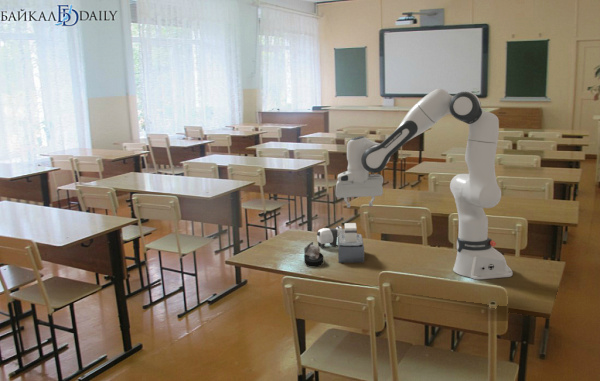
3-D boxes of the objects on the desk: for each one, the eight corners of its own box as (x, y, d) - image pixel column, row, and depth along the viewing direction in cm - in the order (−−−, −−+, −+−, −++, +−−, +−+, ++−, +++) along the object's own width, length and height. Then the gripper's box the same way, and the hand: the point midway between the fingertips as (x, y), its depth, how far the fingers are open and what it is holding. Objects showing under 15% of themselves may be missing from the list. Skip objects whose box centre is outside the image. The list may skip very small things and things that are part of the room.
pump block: (356, 238, 241) (355, 223, 240) (356, 243, 234) (356, 228, 232) (344, 238, 242) (344, 223, 240) (344, 243, 234) (344, 228, 232)
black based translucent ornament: (316, 273, 228) (297, 265, 234) (331, 260, 236) (312, 253, 242) (316, 260, 225) (297, 253, 230) (330, 247, 233) (311, 240, 239)
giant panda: (319, 249, 251) (319, 229, 249) (315, 246, 256) (314, 226, 254) (348, 245, 256) (348, 225, 254) (343, 241, 261) (343, 222, 259)
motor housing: (362, 251, 246) (362, 233, 244) (364, 262, 232) (364, 243, 230) (338, 251, 247) (337, 233, 245) (338, 262, 232) (338, 243, 231)
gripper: (382, 172, 230) (383, 203, 233) (334, 174, 232) (336, 205, 235) (383, 175, 224) (384, 207, 227) (334, 177, 225) (336, 209, 229)
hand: (359, 206), depth 231 cm, fingers open, 8 cm apart
